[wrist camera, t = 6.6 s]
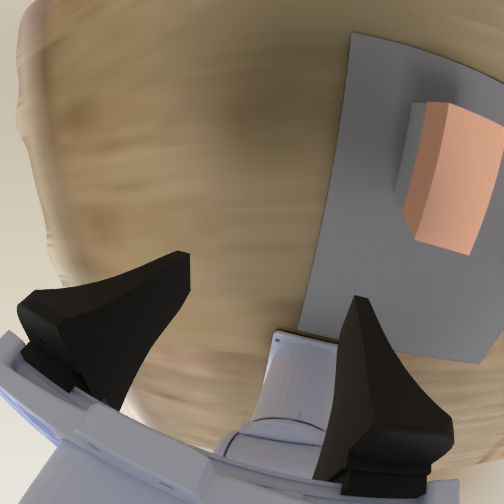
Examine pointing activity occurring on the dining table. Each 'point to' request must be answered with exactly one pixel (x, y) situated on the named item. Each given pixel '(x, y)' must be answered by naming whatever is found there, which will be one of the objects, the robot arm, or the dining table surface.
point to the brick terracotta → (453, 176)
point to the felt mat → (393, 221)
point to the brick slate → (409, 152)
